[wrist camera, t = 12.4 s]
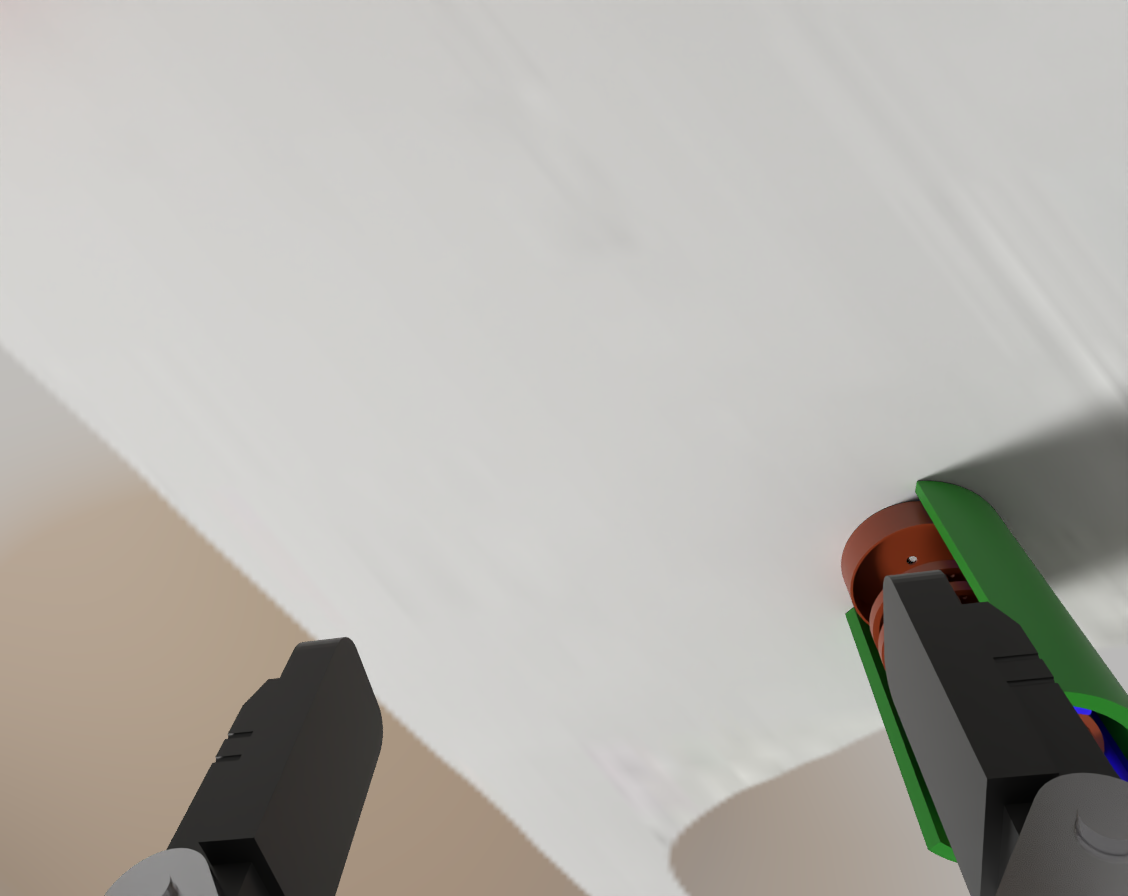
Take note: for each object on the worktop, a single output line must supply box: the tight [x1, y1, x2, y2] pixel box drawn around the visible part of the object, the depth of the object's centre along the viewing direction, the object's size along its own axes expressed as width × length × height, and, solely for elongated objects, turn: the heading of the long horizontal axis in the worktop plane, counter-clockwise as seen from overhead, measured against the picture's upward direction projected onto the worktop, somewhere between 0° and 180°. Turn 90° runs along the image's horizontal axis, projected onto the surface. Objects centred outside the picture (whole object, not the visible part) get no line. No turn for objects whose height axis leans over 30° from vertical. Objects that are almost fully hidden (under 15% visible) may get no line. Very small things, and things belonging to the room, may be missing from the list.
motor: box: [841, 481, 1128, 863], centre depth 38 cm, size 10×9×20 cm
